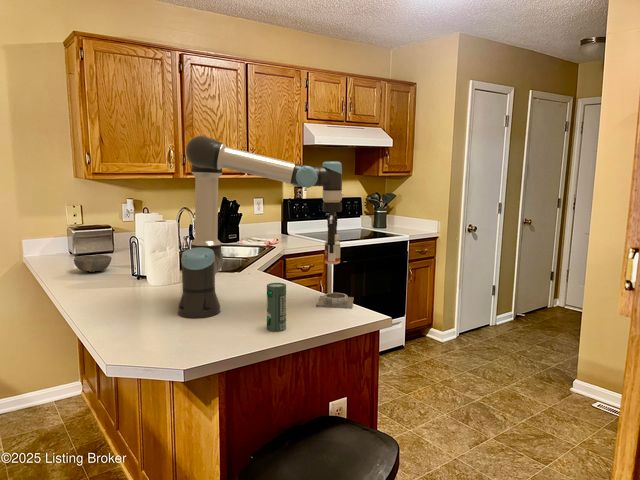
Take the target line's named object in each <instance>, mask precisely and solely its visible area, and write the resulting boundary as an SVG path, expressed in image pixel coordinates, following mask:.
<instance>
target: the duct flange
mask: <svg viewBox="0 0 640 480" xmlns="http://www.w3.org/2000/svg"><path fill="white" fill-rule="evenodd" d="M352 304H354V297H353V296H348V294H346V293H343V292H342V293H341V292H328V293H324V294H323V295H320V296H319V298H318V300H317V302H316V305H315V307H316V308H329V309H330V308H333V309H350V310H351V309H353V305H352Z"/></svg>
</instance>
